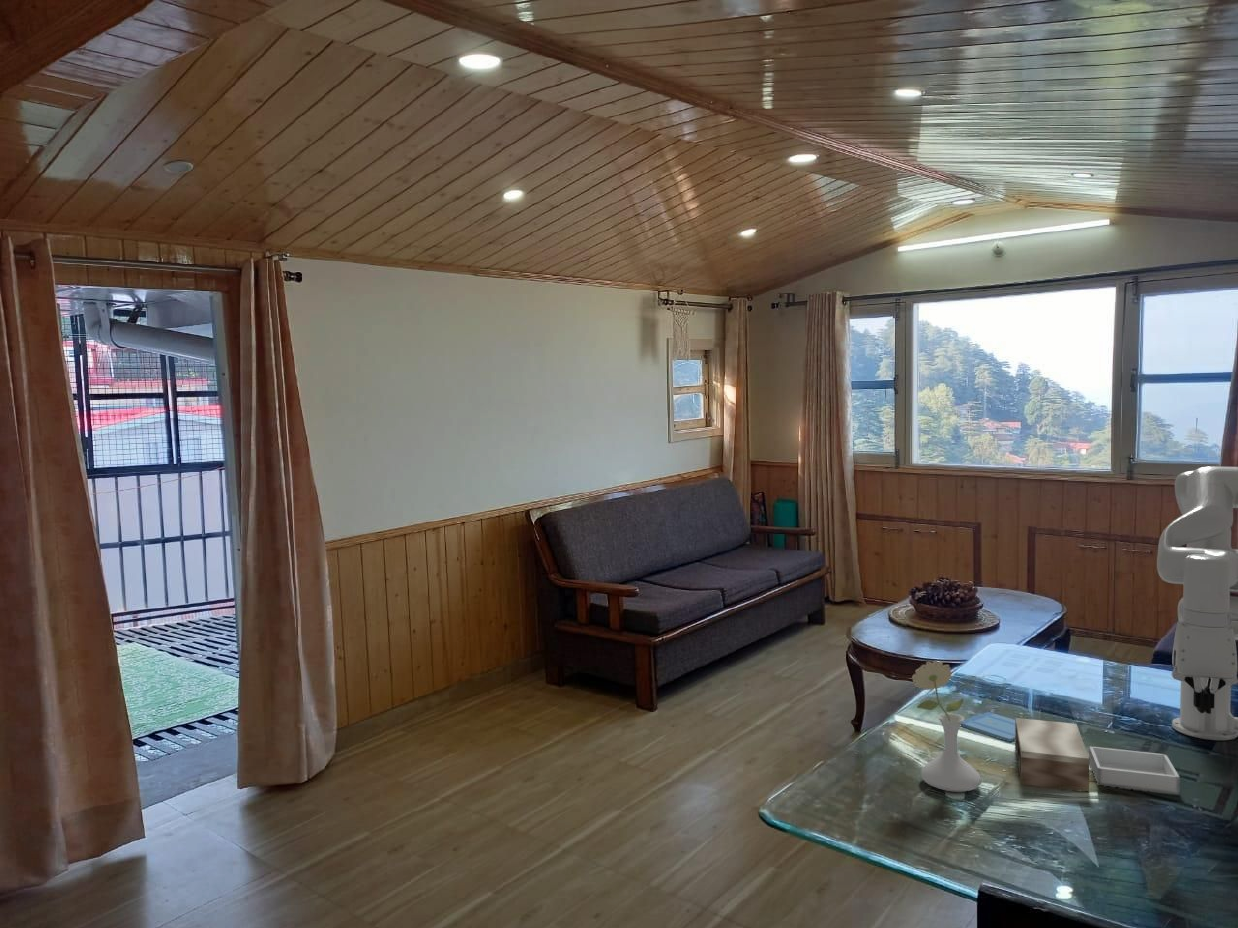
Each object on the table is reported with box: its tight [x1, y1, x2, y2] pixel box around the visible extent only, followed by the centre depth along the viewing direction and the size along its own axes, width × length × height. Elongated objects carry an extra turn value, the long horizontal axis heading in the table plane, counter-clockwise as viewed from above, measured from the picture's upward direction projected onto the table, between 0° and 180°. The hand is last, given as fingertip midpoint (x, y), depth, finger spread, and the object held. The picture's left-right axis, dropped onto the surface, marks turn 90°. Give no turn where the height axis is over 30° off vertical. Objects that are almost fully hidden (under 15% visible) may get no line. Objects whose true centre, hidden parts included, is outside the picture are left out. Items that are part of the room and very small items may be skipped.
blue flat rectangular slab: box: [960, 711, 1015, 742], centre depth 206 cm, size 14×12×1 cm
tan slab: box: [1014, 717, 1090, 793], centre depth 182 cm, size 12×20×7 cm, turn 159°
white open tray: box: [1088, 745, 1181, 796], centre depth 177 cm, size 14×12×4 cm
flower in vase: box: [911, 660, 982, 793], centre depth 175 cm, size 13×11×25 cm
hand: (1203, 710), depth 172 cm, fingers closed
